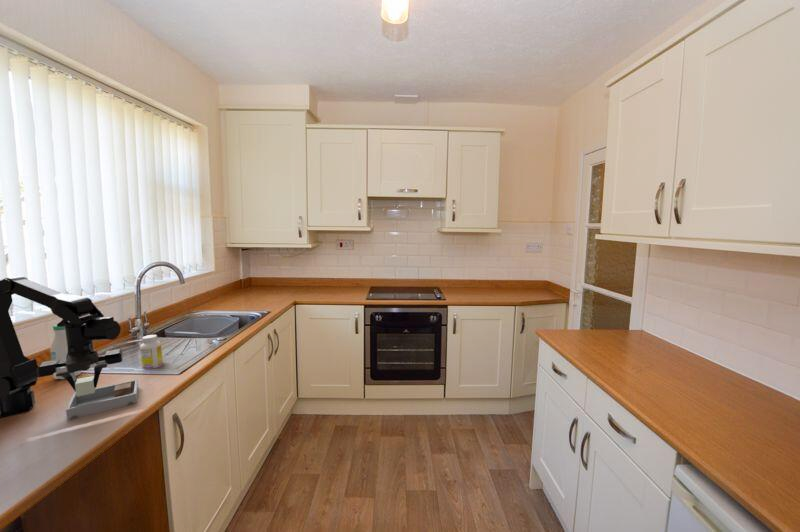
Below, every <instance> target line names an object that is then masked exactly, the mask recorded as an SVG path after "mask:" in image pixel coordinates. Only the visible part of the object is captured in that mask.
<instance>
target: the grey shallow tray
mask: <svg viewBox="0 0 800 532" xmlns="http://www.w3.org/2000/svg"><path fill="white" fill-rule="evenodd" d="M130 382H131V387H132V394H129V395H124V396H120V397H116V398H115V393H114V389H115V386H116V385H121V384H125V383H130ZM138 395H139V382H138V379H134V380H133V379H132V380H129V381H123V382H119V383H115V384H111V385H106V386H100V387H96V389H95V392H94V393H92V394H87V395H82V396H78V397H76V392H73V393H72V396H71V399H69V403H68V404H67V407H66V409H65V413H66V418H67V419H66V420H70V421H71V420H76V419H78V418H80V417H84V416H87V415H92V414H96V413H99V412H100V413H101V412H104V411H109V410H112V409H113V410H114V409H117V408H122V407H124V406H127V407H129V406H132V405H135V404H137V403H138Z"/></svg>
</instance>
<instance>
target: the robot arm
mask: <svg viewBox="0 0 800 532" xmlns="http://www.w3.org/2000/svg"><path fill="white" fill-rule="evenodd" d="M13 295H17V296H20V297H22V298H25V299H28V300H29V301H31V302H34V303H37V304H39V305H42V306H45V307H47V308H49V309H50V311H51V313H52V314H53V315H55V316H57V317H59V318H60V319H61V320H60V321H59V322H58V323H57V326H58V327H65V332H66V340H67V348H68V353H67V356H66V362H61V363H60V361H59V359H57V360H46V361H45V360H44V361H42V362H41V363H40V364H39V366H38V361H37V360H36V358H33V359H30V358H29V357H27V356H25V354H24V352H23V349H22V346H21V344H20V341H19V338H18V335H17V332H16V329H15V326H14V324H13V321H12V318H11V314H10V313H9V312H10V311H9V310H10V308H11V305H12V303H13ZM120 333H121V325H120V324H119V321H116V320H115V319H114V316H107V317H105V315H104V314H103V313H102V311H100V310H99V308H98V307H97V306H96V304H94V303H93V300H92V299H90V298H89V297H87V296H82V295H78V294H70V293H68V294H66V293H62V292H60V291H57V290H55V289H52V288H50V287H47V286H44V285H42V284H40V283H37V282H35V281H33V280H30V279H28V277H26V276H22V275H19V276H11V277H5V278H2V279H0V418H5V417H8V416H9V417H10V416H14V415H18V414H22V413H27V412H30V410H32V408H33V407H34V405H35V404H36V399H35V391H34V390H31V389H32V388H31V387H35V386H37V385H36V384H37V382H38V378H43V377H49V376H52V375H53V376H54V373H55V372H56V371H57V374H56V376H62V377H64V378H65V379H64V380H66V381H67V383H69V385H70V386H71V388H72V389H73V391H74V393H76V390H75V383H76V381H77V376H75V372H77V371H82V372H84V371H87V370H89V369H90V368H91V365H94V367H93V374H94V375H93V376H94V387H96V388H97V386H98V382H99V380H100V379H99V378H100V375H101V373H102V371H103V369H104V368H105V369H106V368H107V367H108V365H113V364H118V363H122V362H123V359H124V353H123V349H120V348H117V349H113V350H106V351H105V354H102V355H101V354H100V355H99V353H98V350H95V346H94V341H114V340H116V339H117V338H118V337H119V336H120Z"/></svg>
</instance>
